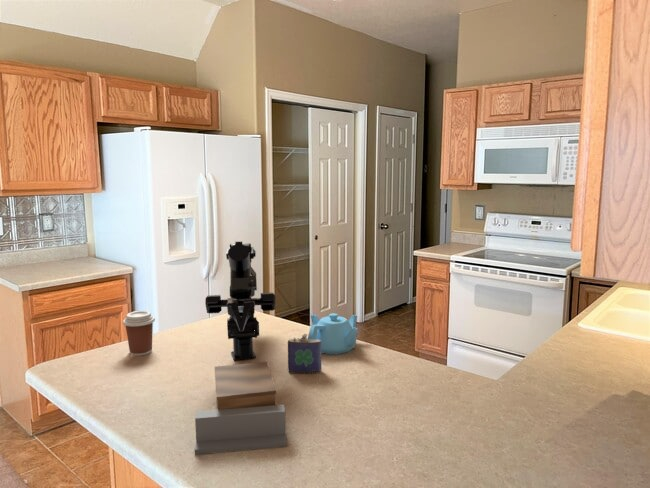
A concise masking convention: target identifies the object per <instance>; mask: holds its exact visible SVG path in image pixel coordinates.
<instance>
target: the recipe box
mask: <svg viewBox="0 0 650 488" xmlns="http://www.w3.org/2000/svg"><path fill="white" fill-rule="evenodd" d="M214 379H215V380H214V381H215V383H214V384H215V394H216V395H215V397H216V408H217V409H216V410H220V409H234V408H247V407H260V406H273V405H277V404H276V395H277V388H276V385H275V382H274V379H273V376H272V373H271V371H270V367H269V364H268V362H267V361H259V362H258V361H257V362H250V363H240V364H239V363H237V364H230V365H229V364H227V365H217V366H214Z"/></svg>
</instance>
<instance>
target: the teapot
mask: <svg viewBox="0 0 650 488" xmlns="http://www.w3.org/2000/svg"><path fill="white" fill-rule="evenodd" d="M310 319H311V323H312V324H311V325H310V328H309V332H308V334H307V340H315V339H319V340H321V354H326V355H341V354H345V353H349V352H351V350H352V349H354V347H355V346H356V344H357V334H358V331H359V328H357V327H356V326H357V321H358V315H357V314H352V315H351V316H350V318H349V319H347V318H345V317H343V316H339V314H338V313H333V312H332V313H329V314H328V316H327V315H326V316H323V317H321V318H320V319H319V318H318V315H317V314H311V315H310Z"/></svg>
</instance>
